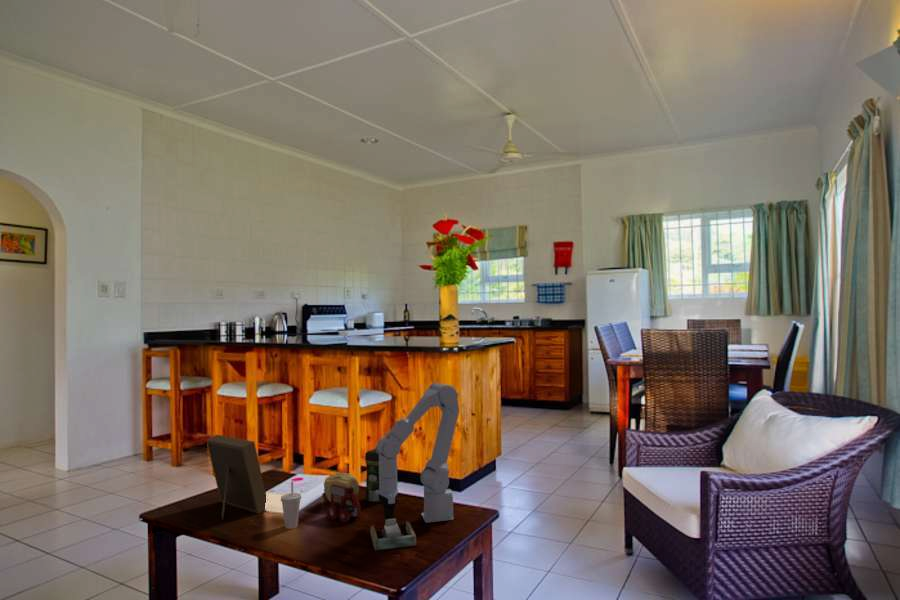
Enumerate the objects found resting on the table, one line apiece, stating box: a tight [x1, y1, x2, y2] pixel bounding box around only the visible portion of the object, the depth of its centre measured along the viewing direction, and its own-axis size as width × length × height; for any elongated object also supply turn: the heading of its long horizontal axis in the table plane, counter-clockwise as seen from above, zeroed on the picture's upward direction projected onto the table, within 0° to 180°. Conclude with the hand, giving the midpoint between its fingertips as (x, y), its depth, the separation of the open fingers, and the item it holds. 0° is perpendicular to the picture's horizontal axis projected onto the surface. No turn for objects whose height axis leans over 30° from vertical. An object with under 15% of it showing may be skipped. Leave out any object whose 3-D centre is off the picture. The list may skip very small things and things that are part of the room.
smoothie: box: [280, 481, 302, 530], centre depth 170 cm, size 6×6×14 cm
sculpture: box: [323, 472, 360, 503], centre depth 192 cm, size 12×12×11 cm
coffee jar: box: [364, 448, 381, 504], centre depth 195 cm, size 10×8×19 cm
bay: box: [370, 521, 417, 551], centre depth 159 cm, size 12×12×2 cm
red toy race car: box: [326, 484, 362, 523], centre depth 177 cm, size 7×12×10 cm, turn 59°
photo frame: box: [205, 434, 267, 520], centre depth 185 cm, size 15×22×25 cm
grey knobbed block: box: [381, 518, 404, 538], centre depth 159 cm, size 6×7×4 cm
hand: (388, 519), depth 167 cm, fingers closed
